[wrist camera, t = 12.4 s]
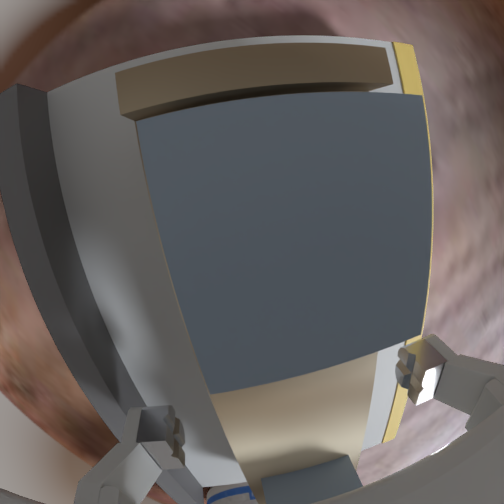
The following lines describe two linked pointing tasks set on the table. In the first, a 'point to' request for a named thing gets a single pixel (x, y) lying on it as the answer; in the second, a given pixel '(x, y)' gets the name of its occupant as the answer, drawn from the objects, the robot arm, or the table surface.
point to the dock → (134, 260)
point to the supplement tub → (231, 494)
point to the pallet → (227, 403)
